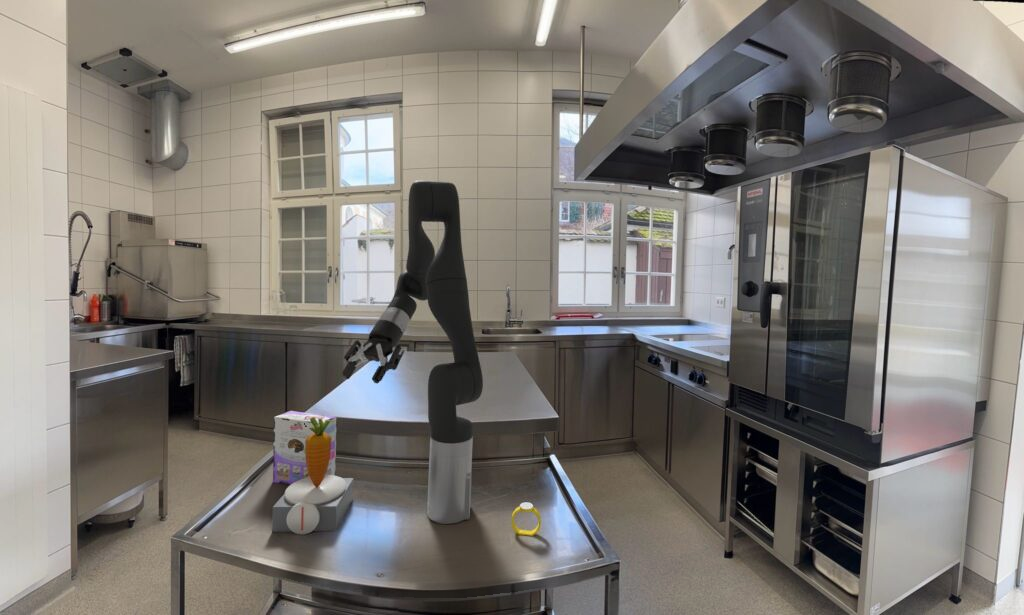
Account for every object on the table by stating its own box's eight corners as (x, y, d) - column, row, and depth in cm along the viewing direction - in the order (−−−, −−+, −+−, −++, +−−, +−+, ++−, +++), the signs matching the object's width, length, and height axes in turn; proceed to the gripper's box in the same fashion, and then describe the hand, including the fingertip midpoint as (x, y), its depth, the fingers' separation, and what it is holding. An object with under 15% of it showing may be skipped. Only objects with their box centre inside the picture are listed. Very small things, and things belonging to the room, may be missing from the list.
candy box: (336, 480, 101) (338, 415, 100) (320, 491, 95) (322, 423, 94) (289, 472, 104) (291, 409, 103) (271, 482, 98) (272, 416, 98)
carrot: (335, 485, 87) (337, 416, 86) (315, 495, 82) (317, 422, 82) (318, 479, 89) (320, 412, 89) (298, 489, 85) (300, 418, 84)
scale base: (352, 499, 92) (353, 473, 92) (333, 534, 79) (334, 504, 79) (297, 499, 91) (298, 473, 91) (269, 535, 78) (269, 505, 78)
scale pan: (352, 478, 92) (352, 474, 92) (335, 505, 80) (335, 501, 80) (298, 478, 91) (298, 474, 91) (274, 506, 79) (274, 502, 79)
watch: (511, 537, 82) (510, 508, 81) (512, 529, 84) (511, 501, 84) (540, 538, 81) (540, 509, 81) (541, 530, 84) (540, 502, 84)
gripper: (361, 316, 107) (327, 367, 96) (408, 320, 102) (378, 374, 92) (373, 334, 112) (343, 384, 102) (418, 339, 108) (391, 391, 97)
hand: (359, 379), depth 97 cm, fingers open, 8 cm apart
